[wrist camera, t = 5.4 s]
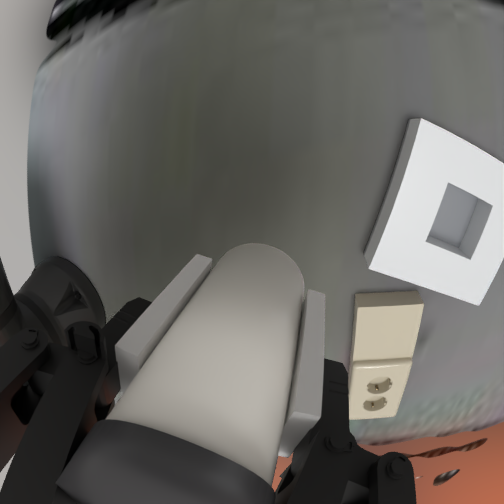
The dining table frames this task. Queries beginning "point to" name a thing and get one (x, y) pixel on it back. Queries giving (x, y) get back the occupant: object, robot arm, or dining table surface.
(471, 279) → the socket block
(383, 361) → the electrical outlet
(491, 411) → the dining table surface
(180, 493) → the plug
